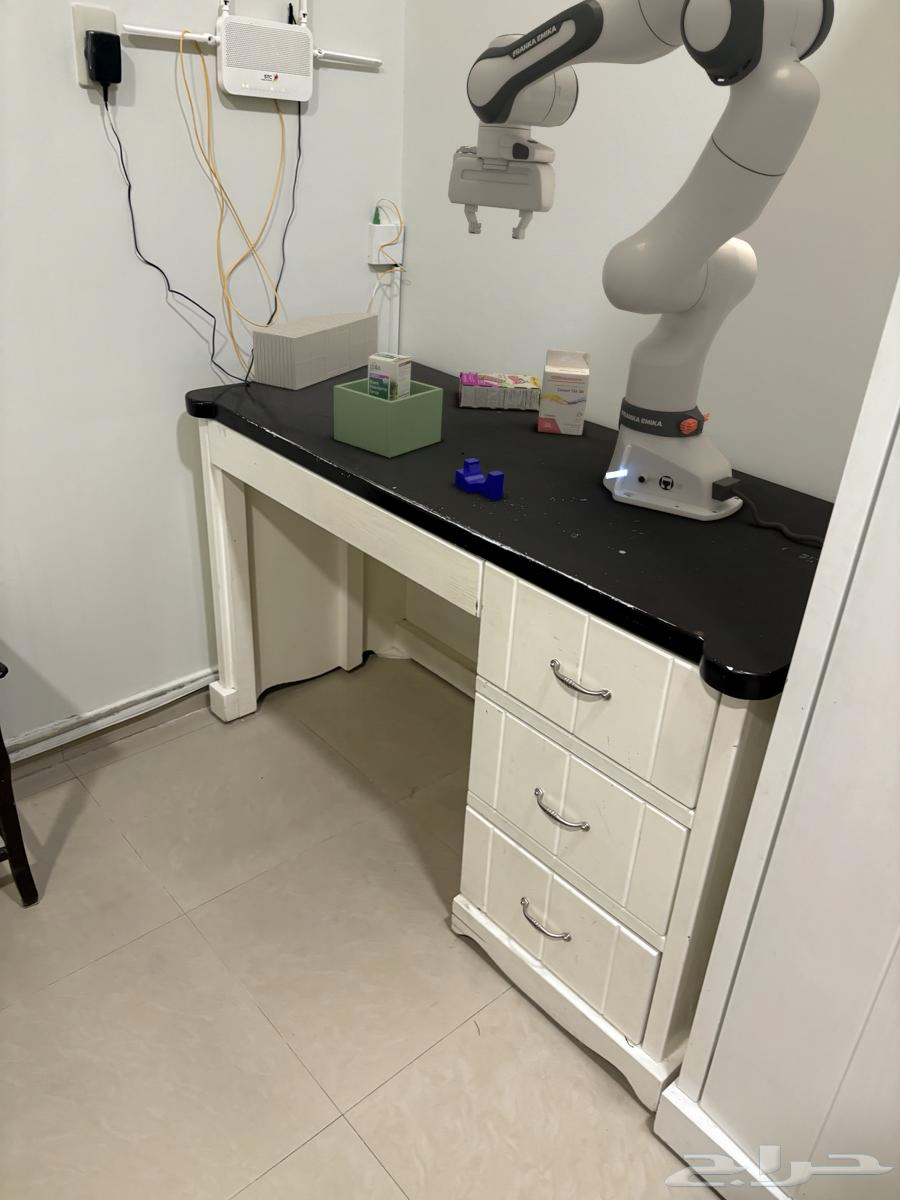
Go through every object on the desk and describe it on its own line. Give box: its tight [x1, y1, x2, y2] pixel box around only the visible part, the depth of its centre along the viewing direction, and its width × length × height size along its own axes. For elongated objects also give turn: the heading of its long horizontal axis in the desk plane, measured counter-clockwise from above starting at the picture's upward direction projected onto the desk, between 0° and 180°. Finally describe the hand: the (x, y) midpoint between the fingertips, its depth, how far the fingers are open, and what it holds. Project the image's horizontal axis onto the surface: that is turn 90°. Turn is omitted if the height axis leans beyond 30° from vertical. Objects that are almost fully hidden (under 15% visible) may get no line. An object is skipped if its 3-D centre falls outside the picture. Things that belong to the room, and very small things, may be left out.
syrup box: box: [367, 351, 412, 401], centre depth 164 cm, size 6×6×14 cm
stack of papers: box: [251, 311, 379, 391], centre depth 206 cm, size 32×11×11 cm
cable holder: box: [454, 457, 505, 501], centre depth 146 cm, size 8×4×4 cm, turn 34°
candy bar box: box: [458, 371, 542, 412], centre depth 192 cm, size 11×5×16 cm
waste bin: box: [333, 377, 444, 459], centre depth 165 cm, size 14×14×10 cm
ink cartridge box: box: [537, 348, 591, 436], centre depth 175 cm, size 9×5×15 cm, turn 84°
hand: (495, 236), depth 162 cm, fingers open, 8 cm apart
